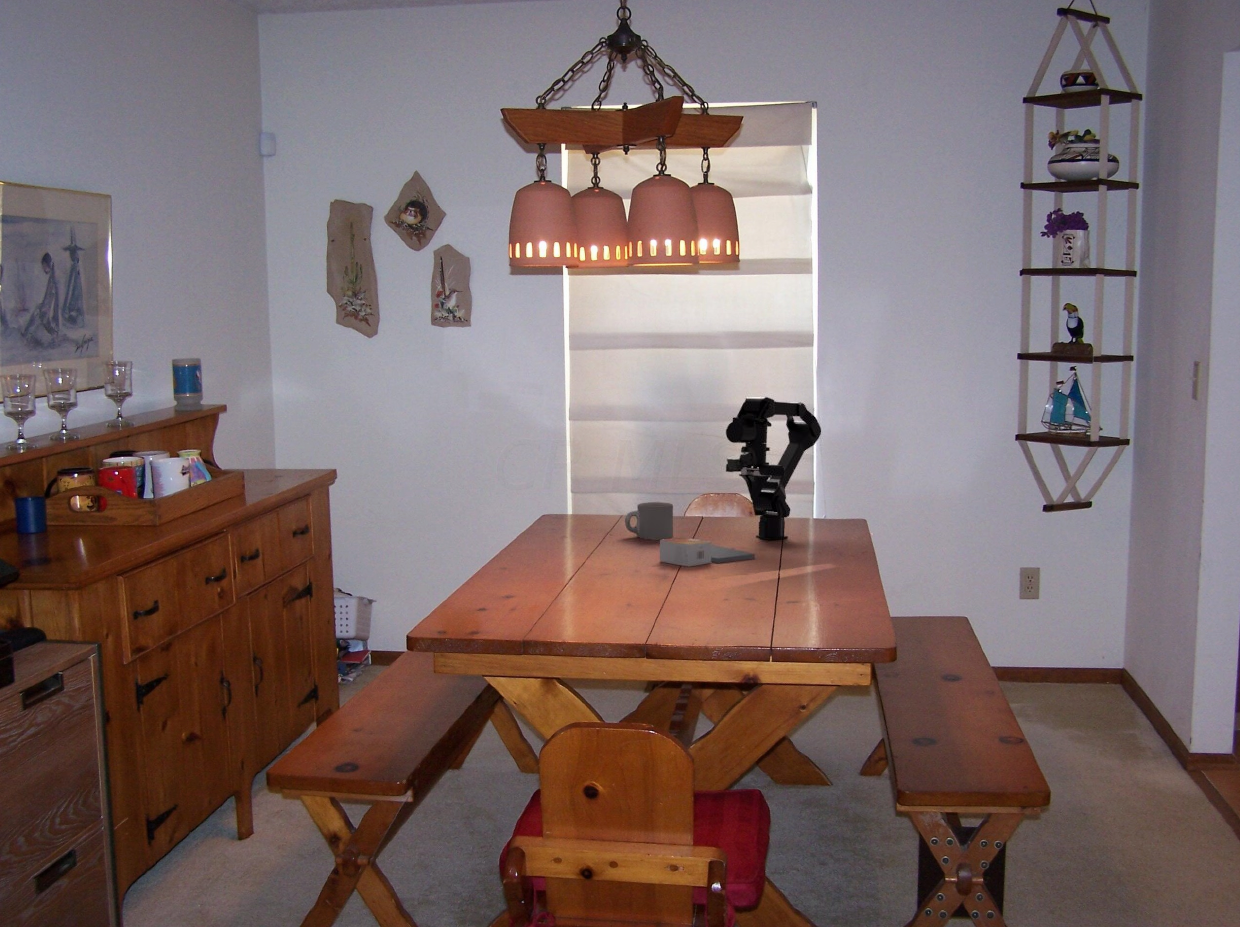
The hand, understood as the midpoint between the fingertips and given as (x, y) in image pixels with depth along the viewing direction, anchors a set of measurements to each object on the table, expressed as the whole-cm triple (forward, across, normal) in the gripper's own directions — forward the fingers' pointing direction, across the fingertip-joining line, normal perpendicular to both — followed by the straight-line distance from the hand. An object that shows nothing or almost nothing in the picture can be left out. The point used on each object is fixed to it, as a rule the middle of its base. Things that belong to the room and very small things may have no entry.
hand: (753, 500), depth 315 cm
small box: (+11, +17, -30) cm, 37 cm away
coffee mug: (+13, -24, -18) cm, 32 cm away
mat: (+13, +8, -19) cm, 25 cm away
